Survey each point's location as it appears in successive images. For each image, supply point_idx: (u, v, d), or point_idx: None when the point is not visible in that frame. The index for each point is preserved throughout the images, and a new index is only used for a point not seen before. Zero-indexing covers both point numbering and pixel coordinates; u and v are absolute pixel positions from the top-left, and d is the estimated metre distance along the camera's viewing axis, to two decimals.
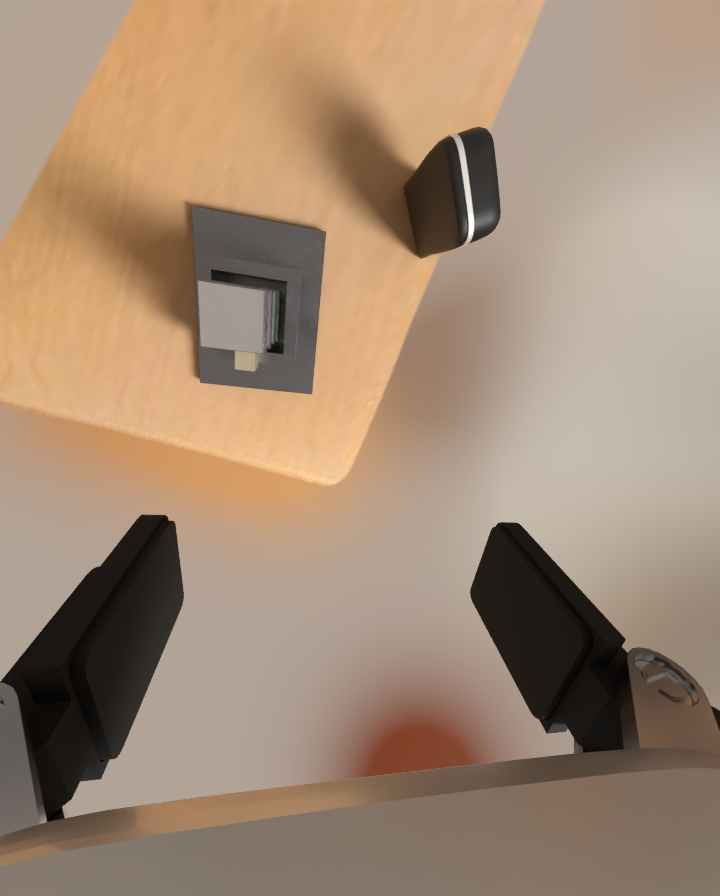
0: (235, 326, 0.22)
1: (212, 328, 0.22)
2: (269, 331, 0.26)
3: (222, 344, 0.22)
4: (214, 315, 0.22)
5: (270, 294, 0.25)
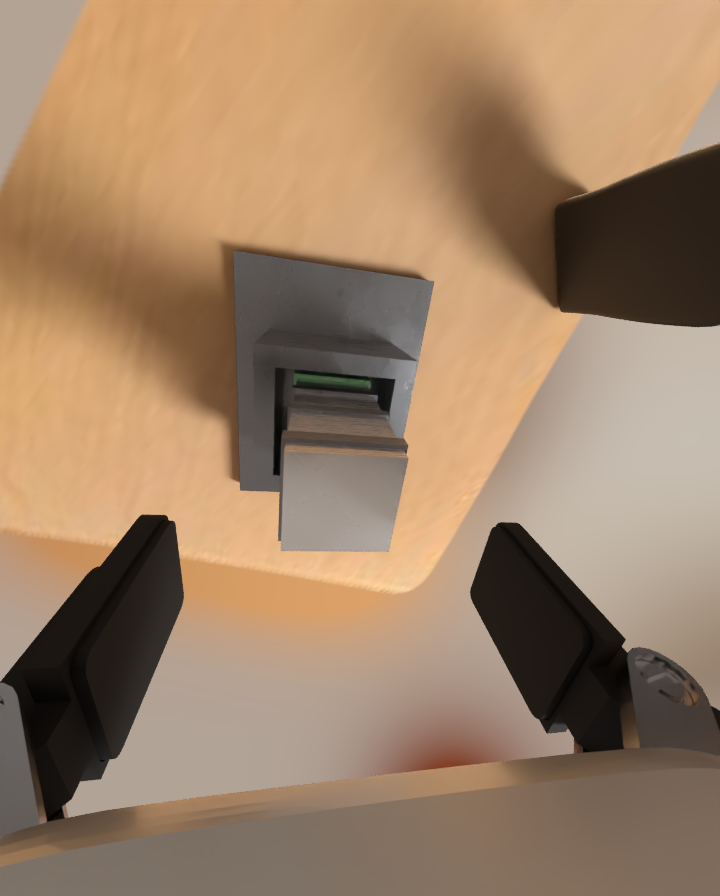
0: (347, 517, 0.12)
1: (304, 523, 0.11)
2: None
3: (320, 545, 0.12)
4: (310, 504, 0.11)
5: None
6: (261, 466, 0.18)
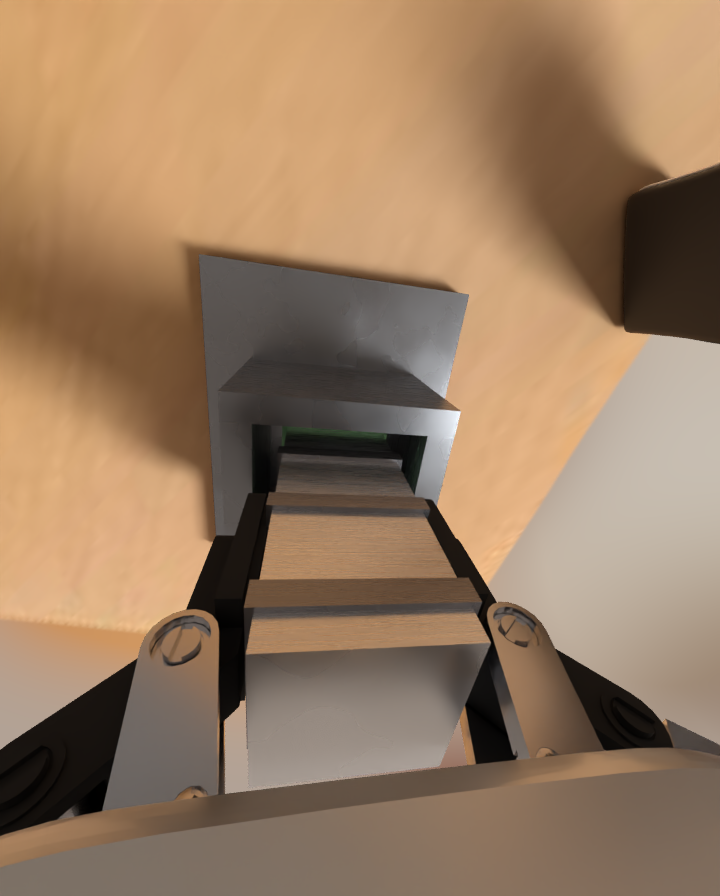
0: (370, 732, 0.06)
1: (291, 750, 0.06)
2: None
3: (320, 773, 0.07)
4: (302, 723, 0.06)
5: None
6: None
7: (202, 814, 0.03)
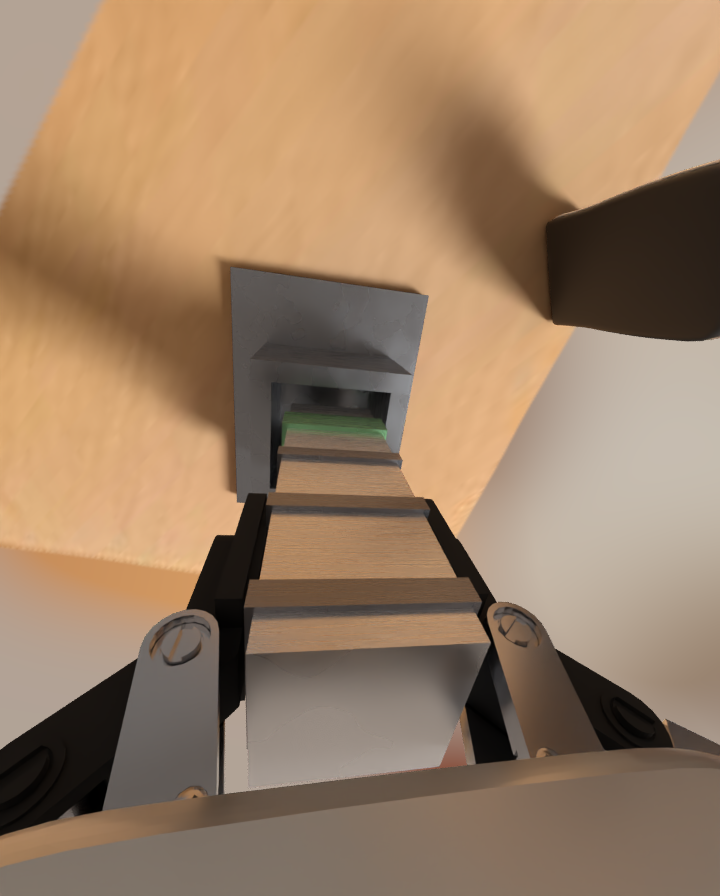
0: (370, 733, 0.06)
1: (291, 750, 0.06)
2: None
3: (320, 773, 0.07)
4: (302, 723, 0.06)
5: None
6: (258, 479, 0.18)
7: (202, 814, 0.03)
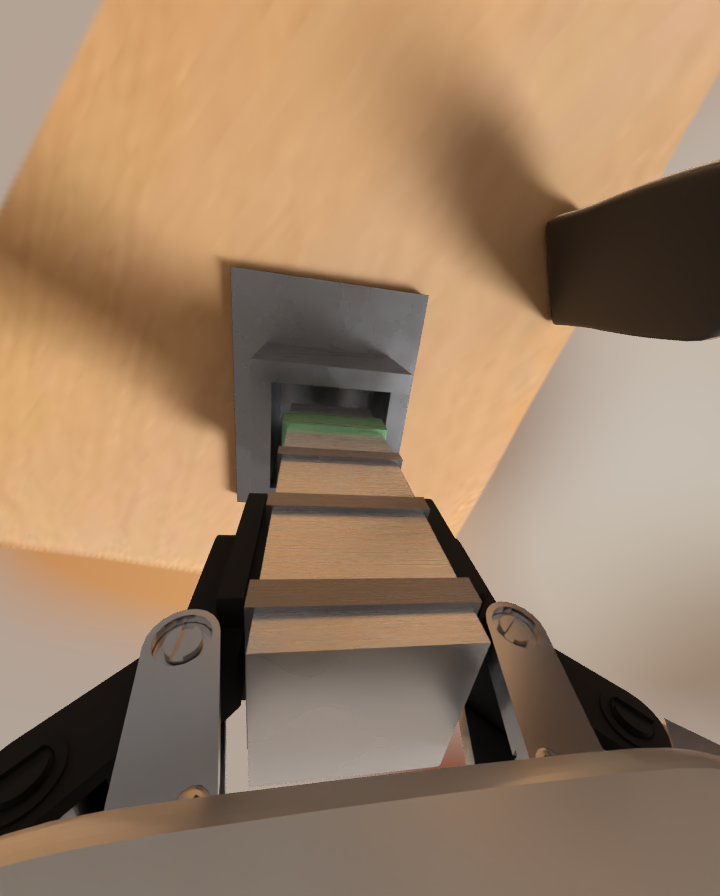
0: (370, 732, 0.06)
1: (291, 749, 0.06)
2: None
3: (320, 772, 0.07)
4: (302, 723, 0.06)
5: None
6: (258, 479, 0.18)
7: (202, 814, 0.03)
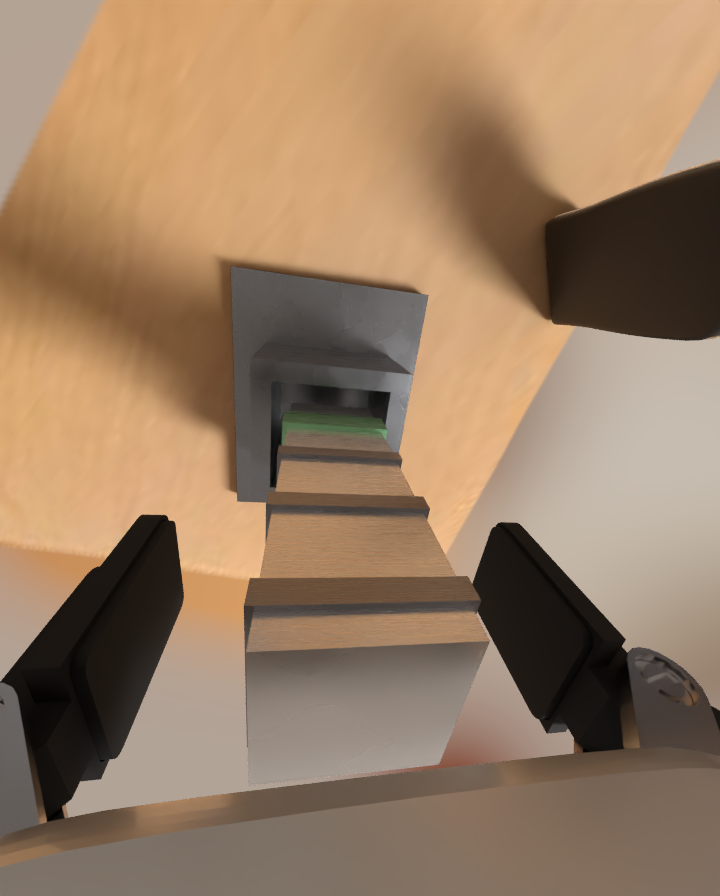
0: (370, 731, 0.06)
1: (291, 747, 0.06)
2: None
3: (320, 771, 0.07)
4: (301, 721, 0.06)
5: None
6: (258, 478, 0.18)
7: (202, 814, 0.03)
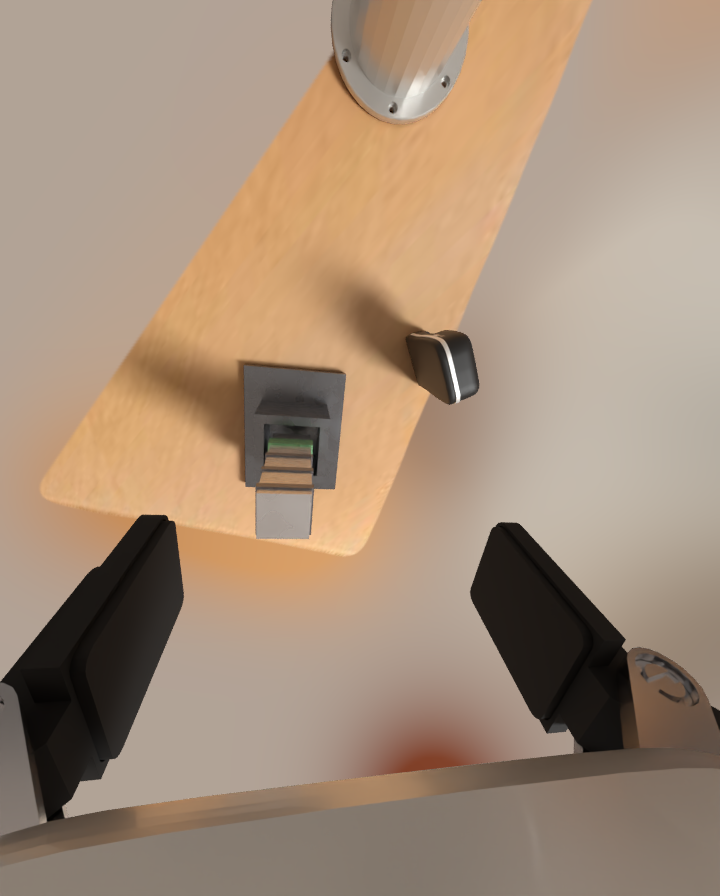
0: (286, 521, 0.25)
1: (267, 525, 0.25)
2: None
3: (275, 535, 0.25)
4: (269, 515, 0.25)
5: (312, 474, 0.28)
6: (257, 469, 0.37)
7: (202, 814, 0.03)
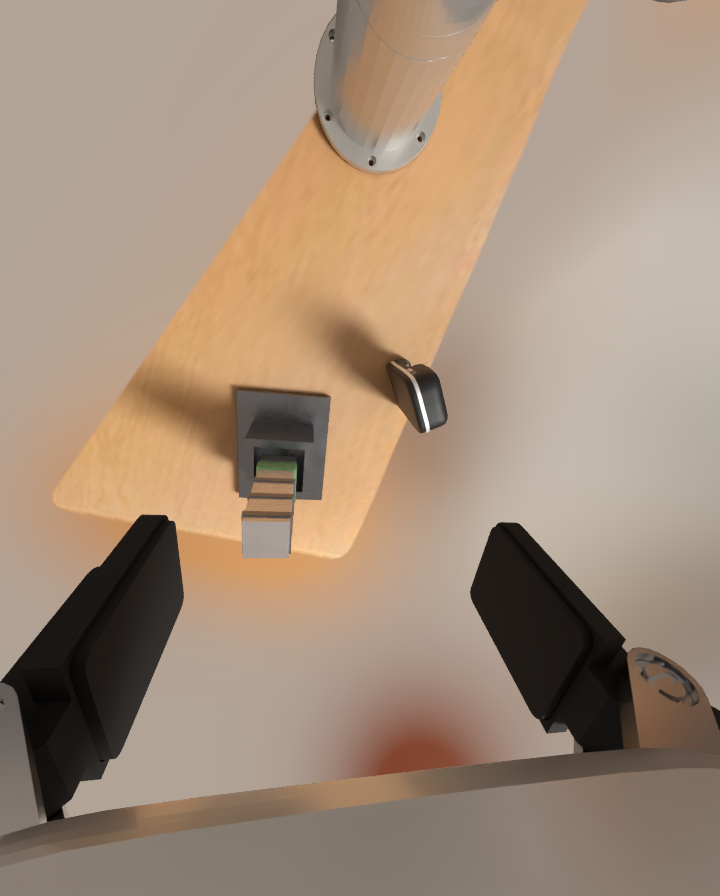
0: (268, 544, 0.29)
1: (251, 547, 0.29)
2: (291, 522, 0.33)
3: (258, 555, 0.30)
4: (253, 539, 0.29)
5: (292, 500, 0.32)
6: (248, 486, 0.41)
7: (202, 814, 0.03)
